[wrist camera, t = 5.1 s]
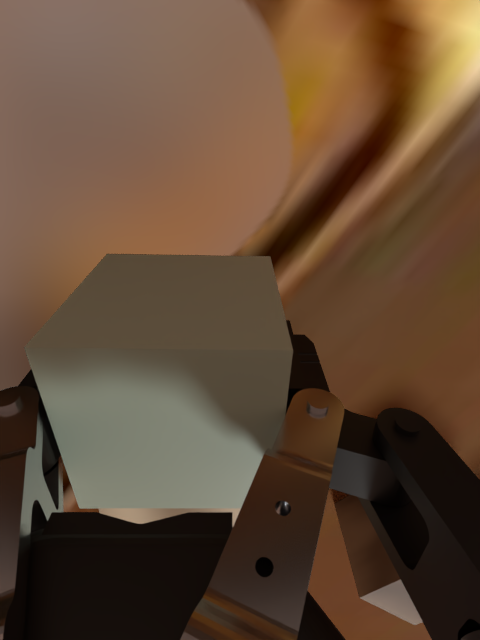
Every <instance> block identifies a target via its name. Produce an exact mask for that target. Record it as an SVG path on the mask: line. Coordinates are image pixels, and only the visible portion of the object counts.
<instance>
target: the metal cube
mask: <svg viewBox="0 0 480 640" xmlns="http://www.w3.org/2000/svg"><path fill="white" fill-rule="evenodd" d="M335 508H336V512H337V516H338V519H339V523H340V527H341V530H342V534H343V538H344V542H345V545H346V549H347V553H348V557H349V560H350V564H351V568H352V572H353V575H354V579H355V583H356V586H357V590H358V594H359V598H361V599H363V600H365V601H367V602H369V603H371V604H373V605H375V606H377V607H379V608H381V609H383V610H385V611H387V612H389V613H391V614H393V615H395V616H397V617H399V618H401V619H403V620H405V621H407V622H409V623H411V624H413V625H416V624H419V623H422V622H423V621H422V619H421V617H420V616H419V614H418V612H417V610H416V608H415V606H414V604H413V602H412V600H411V598H410V596H409V594H408V593H407V591H406V589H405V587H404V585H403V583H402V581H401V579H400V577H399V575H398V573H397V571H396V570H395V568H394V566H393V564H392V562H391V560H390V558H389V556H388V554H387V552H386V550H385V549H384V547H383V545H382V543H381V541H380V539H379V537H378V535H377V533H376V531H375V529H374V527H373V526H372V524H371V522H370V520H369V518H368V516H367V514H366V512H365V510H364V508H363V506H362V504H361V503H360V501H359V498H358V497H357V496H353V495H349V496H347V497H345V498H344V499H342V500H340V501H338V502H337V503H335Z"/></svg>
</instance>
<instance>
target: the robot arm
mask: <svg viewBox="0 0 480 640" xmlns="http://www.w3.org/2000/svg"><path fill="white" fill-rule="evenodd" d="M286 323H287V327H288V331H289V335H290V339H291V344H292V348H293V356H292V364H291V373H290V381H289V389H288V398H287V406H286V415H285V418H284V420H283V423H282V425H281V428H280V430H279V433H278V435H277V437H276V440H275V442H274V445H273V447H272V449H270V448H268V449H267V450H266V451H265V453H264V455H263V458H262V460H261V462H260V465H259V467H258V469H257V472H256V474H255V476H254V479H253V481H252V484H251V486H250V488H249V491H248V493H247V495H246V498H245V500H244V502H243V505H242V507H241V510H240V512H239V514H238V517H237V519H236V521H235V524H234V526H233V527H232V513H233V512H188V513H184V514H180V515H176V516H172V517H168V518H164V519H160V520H156V521H152V522H148V523H144V524H137V523H133V522H129V521H126V520H122V519H118V518H115V517H111V516H108V515H104V514H101V513H97V512H63V465H62V460H61V457H60V455H61V453H60V450H59V448H58V445H57V442H56V439H55V436H54V433H53V430H52V427H51V424H50V421H49V418H48V416H47V413H46V410H45V407H44V404H43V401H42V398H41V395H40V392H39V389H38V386H37V384H36V381H35V378H34V375H33V372H32V369H31V370H30V371H29V373H28V374H27V375H26V377H25V378H24V379H23V380H22V382H21V383H20V384H19V385H18V386H15V387H10V388H7V389H4V390H1V391H0V640H345V638H344V637H343V636H342V634H341V633H340V632H339V631H338V629H337V628H336V627H335V625H334V624H333V623H332V622H331V620H330V619H329V618H328V616H327V615H326V614H325V613H324V611H323V610H322V609H321V607H320V606H319V605H318V604H317V602H316V601H315V600H314V598H313V597H312V596H311V595H310V593H309V592H308V591H307V589H308V585H309V580H310V575H311V570H312V566H313V561H314V556H315V551H316V547H317V542H318V537H319V532H320V528H321V523H322V518H323V513H324V509H325V504H326V499H327V494H328V490H329V488H331V489H334V490H337V491H340V492H344V493H347V494H350V495H353V496H357V497H358V498H359V501H360V503H361V504H362V506H363V508H364V510H365V512H366V514H367V516H368V518H369V520H370V522H371V524H372V526H373V527H374V529H375V531H376V533H377V535H378V537H379V539H380V541H381V543H382V545H383V547H384V549H385V550H386V552H387V554H388V556H389V558H390V560H391V562H392V564H393V566H394V568H395V570H396V571H397V573H398V575H399V577H400V579H401V581H402V583H403V585H404V587H405V589H406V591H407V593H408V594H409V596H410V598H411V600H412V602H413V604H414V606H415V608H416V610H417V612H418V614H419V616H420V617H421V619H422V621H423V623H424V625H425V627H426V629H427V631H428V633H429V635H430V637H431V639H432V640H480V480H479V479H478V478H477V476H476V475H475V474H474V473H473V472H472V471H471V470H470V468H469V467H468V466H467V465H466V464H465V463H464V462H463V460H462V459H461V458H460V457H459V456H458V455H457V454H456V452H455V451H454V450H453V449H452V448H451V447H450V446H449V444H448V443H447V442H446V441H445V440H444V439H443V438H442V436H441V435H440V434H439V433H438V432H437V431H436V430H435V428H434V427H433V426H432V425H431V424H430V423H429V422H428V421H427V420H426V419H425V418H423V417H422V416H420V415H419V414H417V413H415V412H412V411H410V410H406V409H402V408H389V409H386V410H383V411H382V412H381V413H380V414H379V415H378V418H377V419H375V418H371V417H367V416H363V415H359V414H355V413H353V412H350V411H348V410H346V409H344V406H343V404H342V402H341V401H340V400H339V398H338V397H336V396H335V395H334V394H332V393H330V391H329V388H328V385H327V382H326V379H325V376H324V373H323V370H322V367H321V364H320V363H319V362H320V361H319V358H318V355H317V352H316V349H315V346H314V343H313V342H312V341H311V340H309V339H308V338H307V337H306V336H305V335H293V332H292V328H291V324H290V321H289V320H286Z"/></svg>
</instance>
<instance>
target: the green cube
mask: <svg viewBox="0 0 480 640" xmlns="http://www.w3.org/2000/svg"><path fill="white" fill-rule="evenodd" d="M24 349H25V351H26V354H27V357H28V360H29V363H30V366H31V369H32V372H33V375H34V378H35V381H36V384H37V386H38V389H39V392H40V395H41V398H42V401H43V404H44V407H45V410H46V413H47V416H48V418H49V421H50V424H51V427H52V430H53V433H54V436H55V439H56V442H57V445H58V448H59V450H60V453H61V456H62V459H63V462H64V465H65V468H66V471H67V474H68V477H69V479H70V482H71V485H72V488H73V491H74V494H75V497H76V500H77V503H78V506H79V508H241V507H242V505H243V502H244V500H245V498H246V495H247V493H248V491H249V488H250V486H251V484H252V481H253V479H254V476H255V474H256V472H257V469H258V467H259V465H260V462H261V460H262V458H263V455H264V453H265V451H266V450H267V449H268V448H270V449H272V447H273V445H274V442H275V440H276V437H277V435H278V433H279V430H280V428H281V425H282V423H283V420H284V418H285V415H286V406H287V398H288V389H289V381H290V373H291V364H292V356H293V348H292V344H291V339H290V335H289V331H288V327H287V323H286V319H285V315H284V311H283V307H282V303H281V299H280V295H279V290H278V286H277V282H276V278H275V274H274V270H273V266H272V262H271V258H270V257H267V256H205V255H146V254H144V255H143V254H106V256H105V257H104V258H103V259H102V260H101V261H100V262H99V264H98V265H97V266H96V267H95V268H94V269H93V270H92V272H91V273H90V274H89V275H88V276H87V277H86V278H85V279H84V281H83V282H82V283H81V284H80V285H79V286H78V287H77V288H76V289H75V291H74V292H73V293H72V294H71V295H70V296H69V297H68V299H67V300H66V301H65V302H64V303H63V304H62V305H61V307H60V308H59V309H58V310H57V311H56V312H55V313H54V314H53V316H52V317H51V318H50V319H49V320H48V321H47V322H46V323H45V325H44V326H43V327H42V328H41V329H40V330H39V331H38V332H37V334H36V335H35V336H34V337H33V338H32V339H31V340H30V341H29V343H28V344H27V345H26V346H25V347H24Z"/></svg>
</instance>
